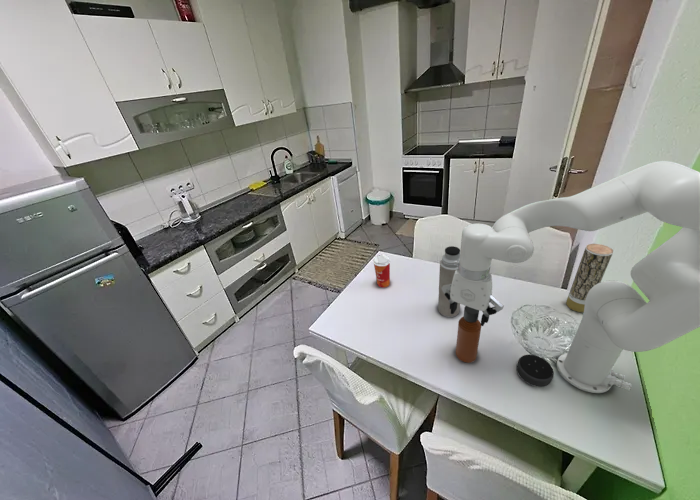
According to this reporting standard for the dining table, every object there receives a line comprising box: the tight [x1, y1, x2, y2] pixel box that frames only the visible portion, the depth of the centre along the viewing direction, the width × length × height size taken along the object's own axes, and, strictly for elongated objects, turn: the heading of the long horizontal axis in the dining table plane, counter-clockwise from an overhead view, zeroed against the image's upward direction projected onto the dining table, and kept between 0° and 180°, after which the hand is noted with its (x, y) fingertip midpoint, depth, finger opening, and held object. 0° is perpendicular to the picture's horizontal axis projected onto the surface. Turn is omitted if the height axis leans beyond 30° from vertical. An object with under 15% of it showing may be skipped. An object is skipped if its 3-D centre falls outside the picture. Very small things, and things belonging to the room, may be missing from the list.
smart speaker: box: [516, 354, 555, 388], centre depth 81 cm, size 9×9×4 cm
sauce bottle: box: [455, 316, 482, 364], centre depth 86 cm, size 6×6×20 cm
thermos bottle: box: [437, 245, 461, 318], centre depth 101 cm, size 8×8×28 cm
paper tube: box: [565, 243, 614, 313], centre depth 95 cm, size 7×7×25 cm
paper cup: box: [372, 254, 391, 289], centre depth 124 cm, size 8×8×14 cm
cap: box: [462, 305, 480, 323], centre depth 81 cm, size 4×4×3 cm
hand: (468, 316), depth 82 cm, fingers open, 8 cm apart
